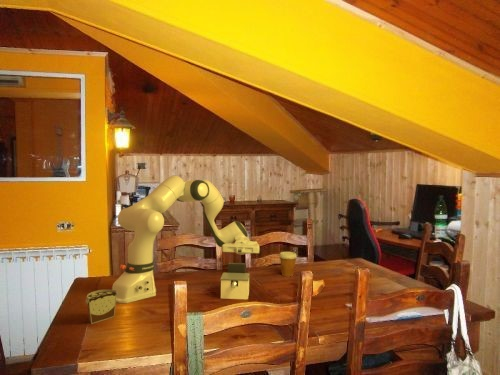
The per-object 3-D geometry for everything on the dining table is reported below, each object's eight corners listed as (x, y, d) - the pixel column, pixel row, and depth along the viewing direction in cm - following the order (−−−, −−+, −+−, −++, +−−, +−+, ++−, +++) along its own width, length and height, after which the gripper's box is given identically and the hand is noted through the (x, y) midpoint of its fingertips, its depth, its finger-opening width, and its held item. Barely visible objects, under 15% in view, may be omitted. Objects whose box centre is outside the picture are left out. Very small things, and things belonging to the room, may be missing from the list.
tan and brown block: (109, 311, 155) (109, 287, 154) (117, 315, 151) (117, 290, 150) (79, 320, 145) (78, 294, 145) (87, 325, 141) (87, 298, 141)
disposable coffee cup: (297, 277, 207) (297, 255, 206) (279, 277, 207) (279, 255, 207) (295, 273, 216) (296, 251, 216) (278, 272, 217) (278, 251, 216)
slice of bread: (309, 297, 177) (309, 289, 176) (287, 286, 193) (287, 279, 192) (340, 292, 185) (340, 284, 185) (316, 282, 201) (317, 275, 201)
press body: (223, 291, 183) (223, 272, 182) (249, 292, 182) (249, 273, 182) (220, 298, 172) (220, 278, 172) (248, 299, 172) (248, 279, 171)
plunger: (228, 285, 185) (228, 262, 184) (245, 286, 184) (245, 263, 184) (224, 297, 168) (224, 272, 168) (242, 297, 168) (242, 272, 167)
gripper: (223, 239, 216) (219, 244, 202) (260, 241, 215) (259, 245, 201) (222, 251, 216) (219, 256, 202) (259, 252, 215) (258, 258, 201)
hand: (239, 251), depth 201 cm, fingers closed
